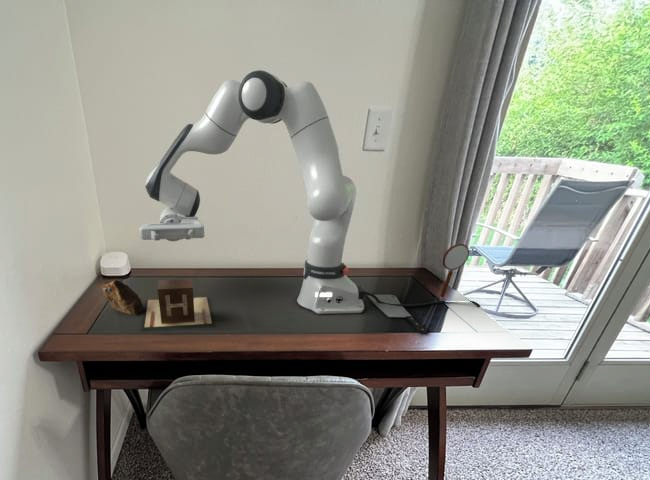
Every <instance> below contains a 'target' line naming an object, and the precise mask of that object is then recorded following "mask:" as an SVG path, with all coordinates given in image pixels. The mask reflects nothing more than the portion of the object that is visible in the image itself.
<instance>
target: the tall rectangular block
mask: <svg viewBox="0 0 650 480" xmlns="http://www.w3.org/2000/svg"><path fill="white" fill-rule="evenodd" d="M156 289H157V297H158V299H157V300H159V307H160V315H161V324H166V323H183V322H195V314H194V298H195V297H194V286H193V279H192V278H186V279H185V278H183V279H163V280H162V279H161V280H159V279H158V280H157V288H156Z"/></svg>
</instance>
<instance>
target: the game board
mask: <svg viewBox="0 0 650 480" xmlns="http://www.w3.org/2000/svg"><path fill="white" fill-rule="evenodd" d="M193 298H194V314H195V322H183V323H166V324H161V315H160V307H159V299H148V300H147V305H146V312H145V320H144V328H159V327H161V328H162V327H175V326H192V325H193V326H195V325H208V324H209V325H210V324H213V321H212V316H211V311H210V307H209V302H208V301H209V300H208V297H206V296H203V297H193Z"/></svg>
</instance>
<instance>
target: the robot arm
mask: <svg viewBox="0 0 650 480" xmlns="http://www.w3.org/2000/svg"><path fill="white" fill-rule="evenodd" d="M249 119H251V120H254V121H257V122H259V123H261V124H271V125H273V124H278V123H279V122H281V121H282V122H283V124H284V125H285V127H286V129H287V132H288V136H289V138H290V141H291V143H292V146H293V149H294V153H295V155H296V158H297V160H298V163H299V166H300V170H301V173H302V178H303V184H304V189H305V193H306V198H307V210H308V212H309V214H310V215H311V217H312V218H313V219H314V221H313V224H312V228H311V231H310V234H309V239H308V246H307V255H306V259H305V261H304V265H303V273H302V274H303V275H302V276H303V279H302V280H303V281H302V285H301V288H300V291H299V295H298V297H297V299H296V302H297V303H298V305H299V306H301V307H303V308H305V309H307V310H311V311H313V312H314V313H316V314H318V315H328V314H329V315H331V314H333V315H334V314H335V315H336V314H361V313H363V312H364V310H365V304H364V299H365V295H366V296H367V295H369V296H371V297H373V298H374V299H375V300H376V301H377V302H378V303H382V304H389V303H384V302H382V301H380V300H379V299H378V298H377V297H376V296H375V295H376V294H375V295H373V293H372V292H371V293H370V292H368V291H366V290H365V289H364V288H363V287H362V285H356V284H355V282H354V281H352V280H351V279H350V278H349V277H348V275H349V274H350V273H351V272H350V269H349V267H347V265H346V264H345V263H344V262H342V260H343V254H344V249H345V243H346V238H347V234H348V231H349V227H350V223H351V218H352V215H353V210H354V206H355V202H356V197H357V187H356V184H355V182H354V181H353V180H352V179H351V178H350V177H348V176H346V175H344V174H343V169H342V165H341V160H340V153H339V145H338V143H337V140H336V137H335V133H334V130H333V127H332V124H331V121H330V118H329V115H328V112H327V109H326V107H325V104H324V102H323V100H322V97H321V96H320V94H319V92H318V90H317V88H316V87H315V85H314V84H313V83H312V82H310V81H306V80H304V81H303V80H302V81H298V82H296V83H294V84H293V85H291V86H287V84H286V83H285V82H284V81H282V80H281V79H280V78H279V77H278V76H276V75H275V74H274V73H270V72H268V71H265V70H261V69H260V70H259V69H258V70H254V71H250V72H249V73H248V74H246V75H245V77H243V79H242V80H241V82H239V81H237V80H235V79H228V80H227V79H226V80H225V81H224V82H223V83H222V84H221V85H220V86H219V88H217V91H216V92H215V94H214V96H213V97H212V99H211V101H210V102H209V104H208V106H207V108H206V109H205V112H204V114H203V115H202V117H201V118H200V119H199V120H198V121H197V122H195V123H188V124H186V125H185V126H184V128H183V129H181V131H180V132H179V134H178V135H177V137H176V138H175V139H174V140H173V142H172V143H171V145H170V146H169V148H168V149H167V151H166V153H165V154H164V155H163V157H162V158H161V159H160V161H159V163H158V164H157V165H156V166H155V168H154V169H152V170H151V172H150V173H149V174H148V177H147V178H146V181H145V190H146V193H147V195H148V196H149V198H150V199H153V200H154V201H157V202H160V203H161V204H163V205H165V206H166V208H164V209H163V210H162V212H161V214H160V216H159V222H156V223H155V222H154V223H153V222H151V223H144V224H141V226H140V227H139V229H138V230H139V237H140V239H141V240H143V241H150V240H152V241H153V240H154V242H155V241H160V240H166V241H168V242H178V241H180V240H184V239H185V240H191V239H203V238H205V226H204V224H203V222H202V221H201V220H199V218H198V216H196V214H197V213H198V210H199V208H200V204H201V197H200V196H201V195H200V192H199V189H197V188H196V187H194V186H192V185H191V184H189V183H188V182H186V181H184V180H182V179H181V178H180V177H177V176H176V175H175V174H173V173H172V172H171V171H172V169H173V168H174V166H176V164H177V162H178V161H179V160H180V158H181V157H182V156H183V155H184V154H186V153H187V152H197V153H202V154H206V155H220V154H223V153H226V152H227V151H228V150H229V149H230V147H231V146H232V145H233V143H234V141H235V140H236V138H237V136H238V135H239V133H240V131H241V129H242V127H243V125H244V124H245V122H246V121H247V120H249ZM434 301H435V300H433V301H432V300H431V301H428V302H422V303H407V304H405V303H403V304H402V303H400V304H389V305H394V306H403V307H404V308H414V307H415V308H416V307H423V306H429V305H434V304H447V303H446V302H445V301H444V300H442V301H440V300H437V301H438V302H434ZM469 301H470V302H472V303H473V305H475V306H476V307H477V308H481V307H482V306H481V305H480V304H479V303H478V302H476V301H475V300H469ZM472 303H471V304H472Z"/></svg>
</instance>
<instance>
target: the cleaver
mask: <svg viewBox="0 0 650 480" xmlns="http://www.w3.org/2000/svg"><path fill="white" fill-rule="evenodd" d="M372 294H373V293H372ZM373 295H375V296H376V297H377V298H378V299H379V300H380V301H382V302H384V303H389V304H401V302H400V301H399V299H398V297H397V296H396V295H392V294H373ZM366 296H367V297H368V298H369V299H370V301H371V302H372V303H373V304H374V305H375V306H376V307H377V308H378V309H379V310H380V311H381V312H382V313H384V315H386V316H387V317H388V318H405V319H407V321H409V323H411V324H412V325H413V327H414V328H415V331H416V332H417V333H420V334H423V335H426V334H427V333H428V329H426V328H425V327H424V326H423V325H422V324H421V322H419V321H418V320H417V319H416V318H414V316H412V314H410V313H409V312H408V311H407V309H406V308H405V307H403V306H394V305H389V304H382V303H378V302H377V301H376V300H375V299H374V298H373V297H371V296H369V295H366Z"/></svg>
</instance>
